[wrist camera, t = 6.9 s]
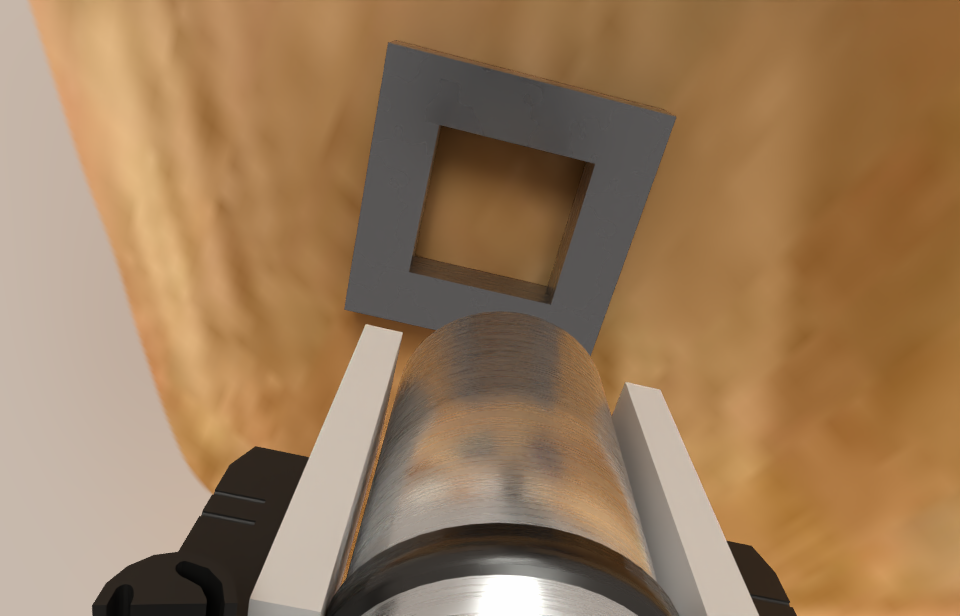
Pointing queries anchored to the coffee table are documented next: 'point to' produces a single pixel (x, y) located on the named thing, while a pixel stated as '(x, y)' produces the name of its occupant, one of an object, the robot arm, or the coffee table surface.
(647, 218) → the coffee table surface
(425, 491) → the piston
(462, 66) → the bore plate
